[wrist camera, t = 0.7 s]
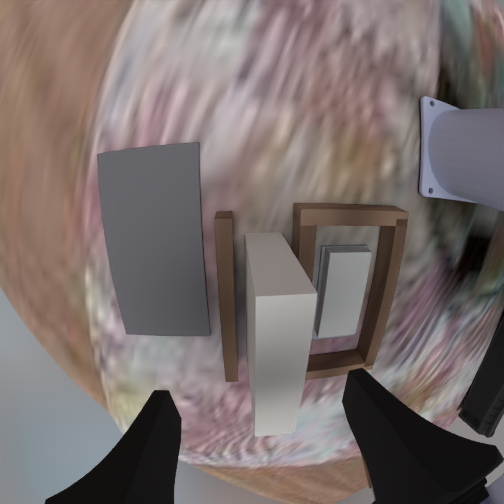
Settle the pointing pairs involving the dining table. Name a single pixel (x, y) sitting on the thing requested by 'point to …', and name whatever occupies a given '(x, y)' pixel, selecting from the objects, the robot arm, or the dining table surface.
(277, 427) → the white rectangular block
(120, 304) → the mat
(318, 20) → the dining table surface
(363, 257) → the offcut upper
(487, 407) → the magazine
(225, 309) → the brown wooden frame
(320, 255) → the offcut lower
